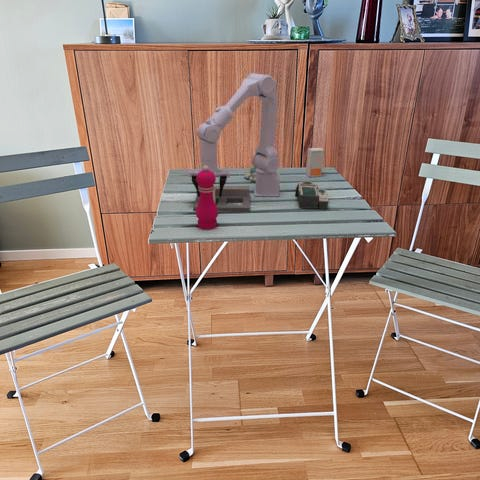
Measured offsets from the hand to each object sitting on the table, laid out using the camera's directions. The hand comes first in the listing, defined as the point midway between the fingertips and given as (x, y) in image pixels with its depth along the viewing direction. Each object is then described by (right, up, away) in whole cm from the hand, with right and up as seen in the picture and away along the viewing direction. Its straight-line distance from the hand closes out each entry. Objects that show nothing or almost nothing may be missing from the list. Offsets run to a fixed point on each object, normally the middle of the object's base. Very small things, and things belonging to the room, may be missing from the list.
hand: (209, 196), depth 146 cm
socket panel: (+4, -2, +3) cm, 6 cm away
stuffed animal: (+18, +10, +30) cm, 36 cm away
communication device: (+38, 0, +9) cm, 39 cm away
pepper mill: (0, -11, -14) cm, 18 cm away
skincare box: (+44, +13, +34) cm, 57 cm away
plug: (0, -3, +1) cm, 4 cm away
